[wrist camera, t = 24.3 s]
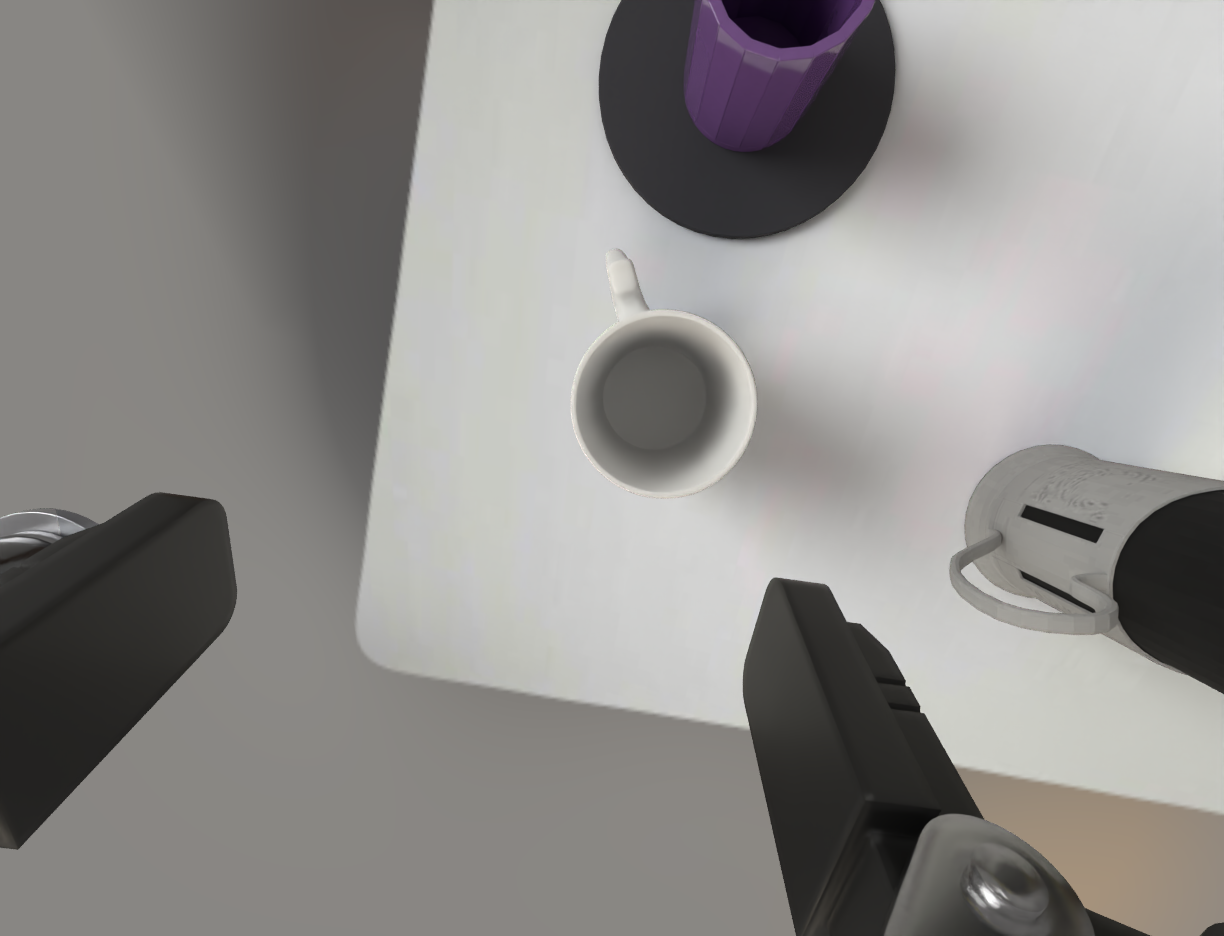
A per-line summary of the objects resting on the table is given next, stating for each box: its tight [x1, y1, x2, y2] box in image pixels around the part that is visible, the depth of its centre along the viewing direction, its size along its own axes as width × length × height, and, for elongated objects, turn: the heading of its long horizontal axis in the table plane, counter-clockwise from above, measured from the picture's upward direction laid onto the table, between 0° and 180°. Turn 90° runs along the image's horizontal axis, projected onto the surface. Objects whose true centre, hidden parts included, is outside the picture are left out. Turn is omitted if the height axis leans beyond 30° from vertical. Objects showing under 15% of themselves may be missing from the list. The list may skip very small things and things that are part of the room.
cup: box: [684, 0, 875, 152], centre depth 26 cm, size 6×6×9 cm
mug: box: [571, 249, 757, 499], centre depth 27 cm, size 10×7×12 cm, turn 17°
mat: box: [599, 0, 895, 239], centre depth 31 cm, size 15×15×1 cm
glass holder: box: [949, 445, 1224, 694], centre depth 26 cm, size 9×14×15 cm, turn 93°
